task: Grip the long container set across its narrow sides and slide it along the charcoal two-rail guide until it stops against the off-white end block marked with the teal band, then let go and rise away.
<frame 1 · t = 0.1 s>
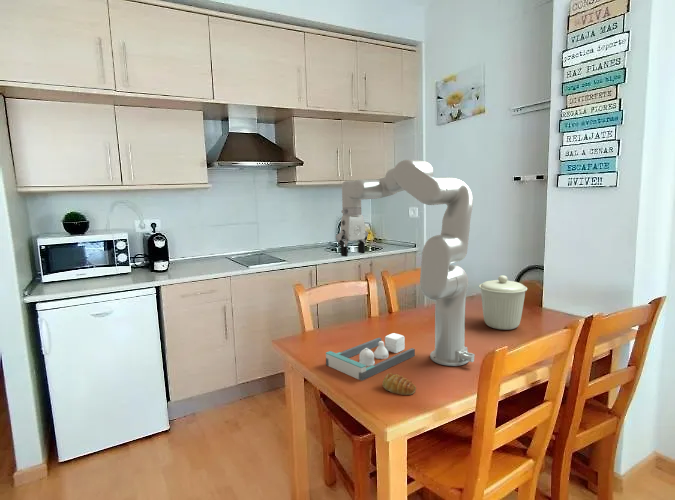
hand: (353, 254, 166), 31 cm above the table, tool pointing down, fingers open, 9 cm apart
canister: (501, 326, 168), on the table
pastry: (398, 389, 118), on the table
rail guide: (371, 360, 138), on the table
container set: (381, 357, 142), on the table
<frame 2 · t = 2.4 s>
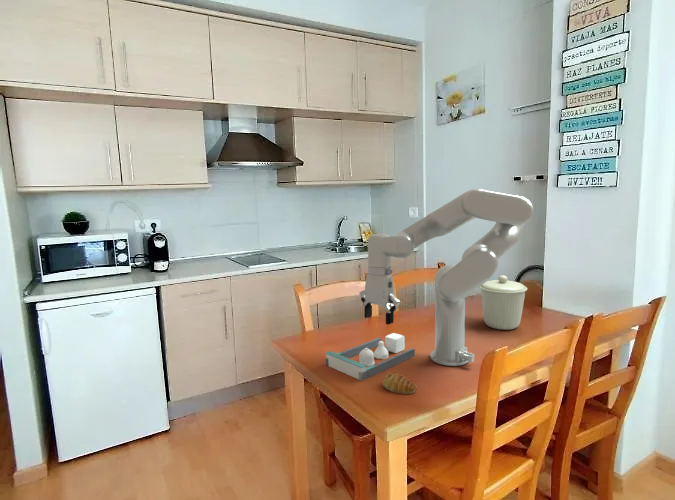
hand: (378, 320, 140), 13 cm above the table, tool pointing down, fingers open, 9 cm apart
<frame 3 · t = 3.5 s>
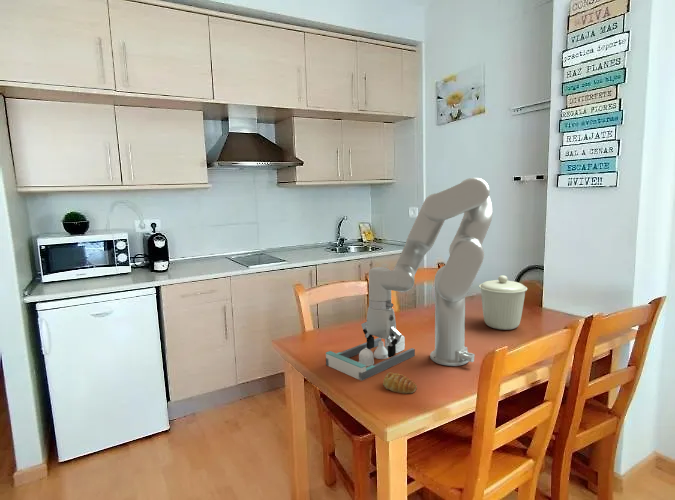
hand: (380, 352, 141), 1 cm above the table, tool pointing down, fingers open, 9 cm apart
nothing on the table moved.
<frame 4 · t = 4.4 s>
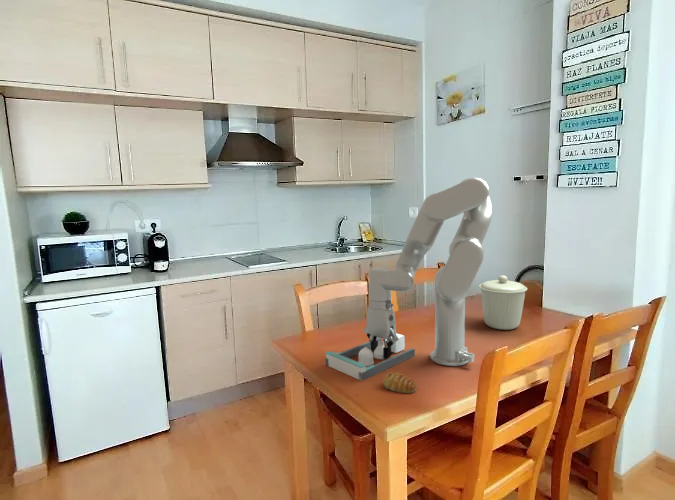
hand: (380, 354, 141), 1 cm above the table, tool pointing down, fingers closed on container set, 5 cm apart
container set: (380, 357, 141), on the table, touching gripper
everything else where it was.
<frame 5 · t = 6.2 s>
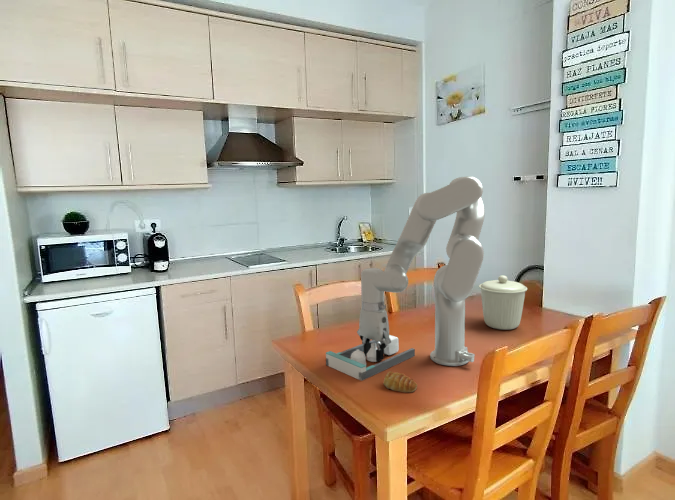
hand: (373, 357, 139), 1 cm above the table, tool pointing down, fingers closed on container set, 5 cm apart
container set: (373, 359, 139), on the table, touching gripper
when the fingers open (1 cm above the table, at t = 7.9 s): container set stays where it is, on the table.
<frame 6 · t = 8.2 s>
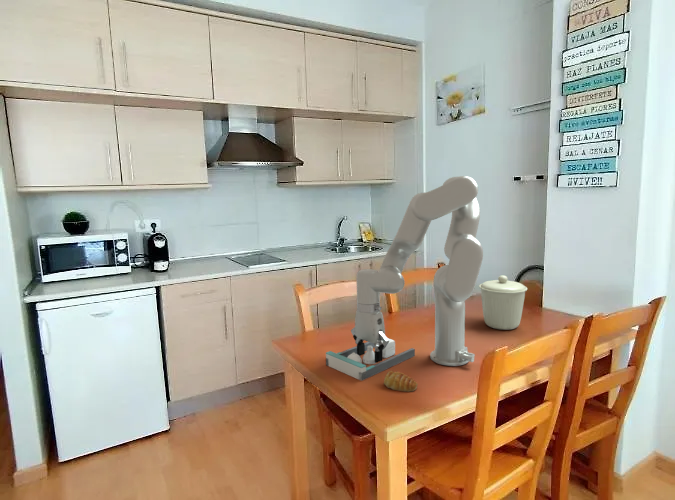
hand: (369, 357, 137), 1 cm above the table, tool pointing down, fingers open, 7 cm apart
container set: (370, 362, 138), on the table
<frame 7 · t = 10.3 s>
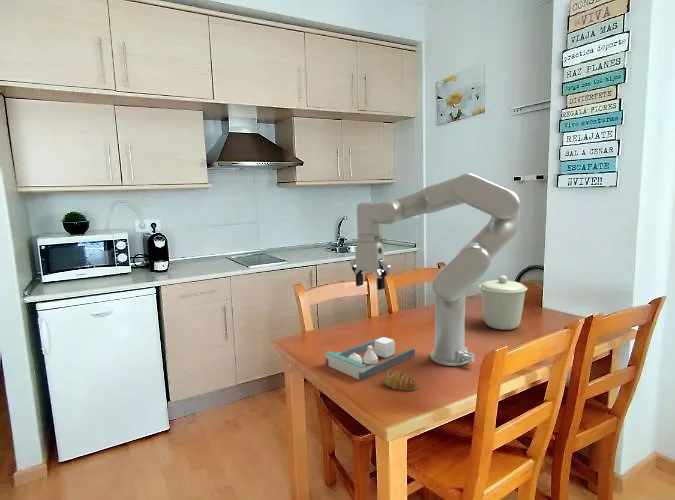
hand: (370, 287, 143), 23 cm above the table, tool pointing down, fingers open, 9 cm apart
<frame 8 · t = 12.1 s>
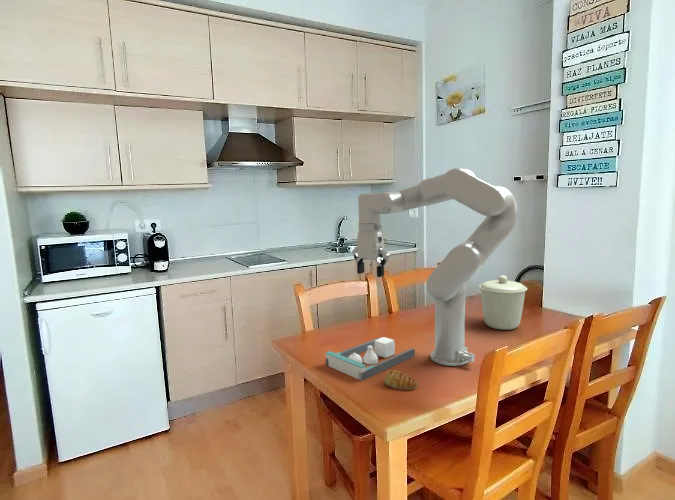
hand: (370, 274, 149), 26 cm above the table, tool pointing down, fingers open, 9 cm apart
at the end: container set 0.2 cm from the target spot, on the table; container set tilted 0°; the gripper is holding nothing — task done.
